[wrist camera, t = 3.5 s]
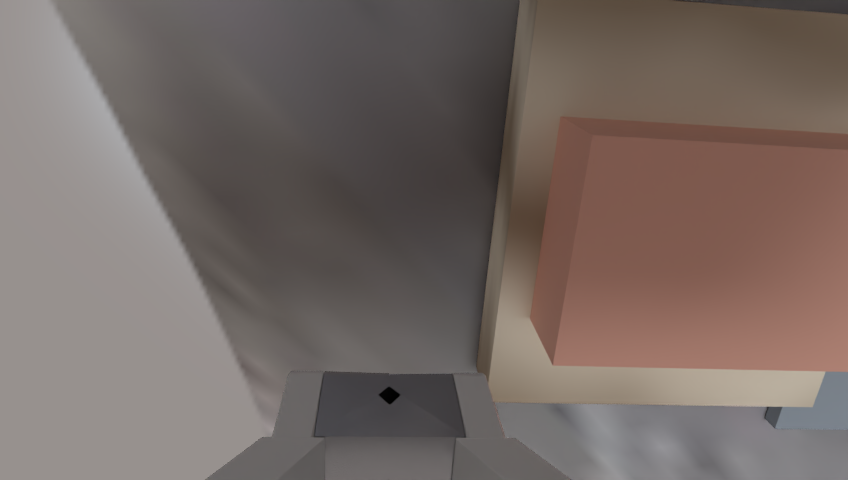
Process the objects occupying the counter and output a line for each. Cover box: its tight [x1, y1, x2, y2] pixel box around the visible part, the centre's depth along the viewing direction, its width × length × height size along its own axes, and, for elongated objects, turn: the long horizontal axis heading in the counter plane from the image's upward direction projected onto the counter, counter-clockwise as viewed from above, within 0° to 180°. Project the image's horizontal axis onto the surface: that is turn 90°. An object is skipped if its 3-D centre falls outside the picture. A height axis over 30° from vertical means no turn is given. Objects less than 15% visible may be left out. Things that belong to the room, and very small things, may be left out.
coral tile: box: [530, 117, 848, 372], centre depth 16 cm, size 9×6×2 cm, turn 86°
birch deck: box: [476, 0, 848, 407], centre depth 18 cm, size 12×11×2 cm
